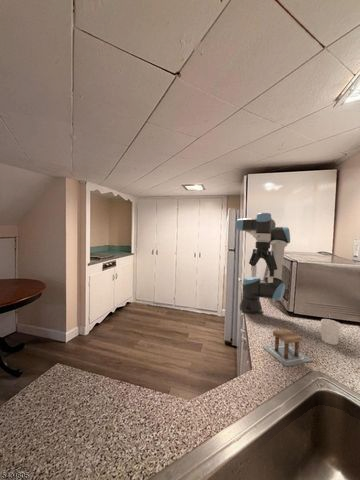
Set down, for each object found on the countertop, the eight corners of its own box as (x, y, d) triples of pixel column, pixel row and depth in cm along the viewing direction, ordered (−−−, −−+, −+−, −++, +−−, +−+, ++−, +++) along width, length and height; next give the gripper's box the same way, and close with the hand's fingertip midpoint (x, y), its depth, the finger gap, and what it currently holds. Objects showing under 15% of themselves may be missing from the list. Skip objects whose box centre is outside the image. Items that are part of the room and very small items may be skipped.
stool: (272, 349, 94) (273, 330, 94) (286, 347, 97) (287, 328, 96) (286, 360, 87) (286, 339, 86) (300, 357, 89) (301, 337, 89)
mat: (262, 347, 96) (262, 346, 96) (286, 343, 100) (286, 342, 100) (285, 366, 83) (286, 365, 83) (312, 361, 87) (312, 360, 87)
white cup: (339, 347, 98) (340, 327, 98) (319, 342, 103) (320, 322, 102) (339, 340, 104) (340, 321, 104) (320, 335, 109) (321, 317, 109)
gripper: (243, 240, 123) (242, 275, 123) (273, 242, 99) (272, 285, 99) (254, 240, 125) (253, 274, 126) (286, 242, 101) (284, 284, 102)
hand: (261, 279), depth 112 cm, fingers open, 13 cm apart
